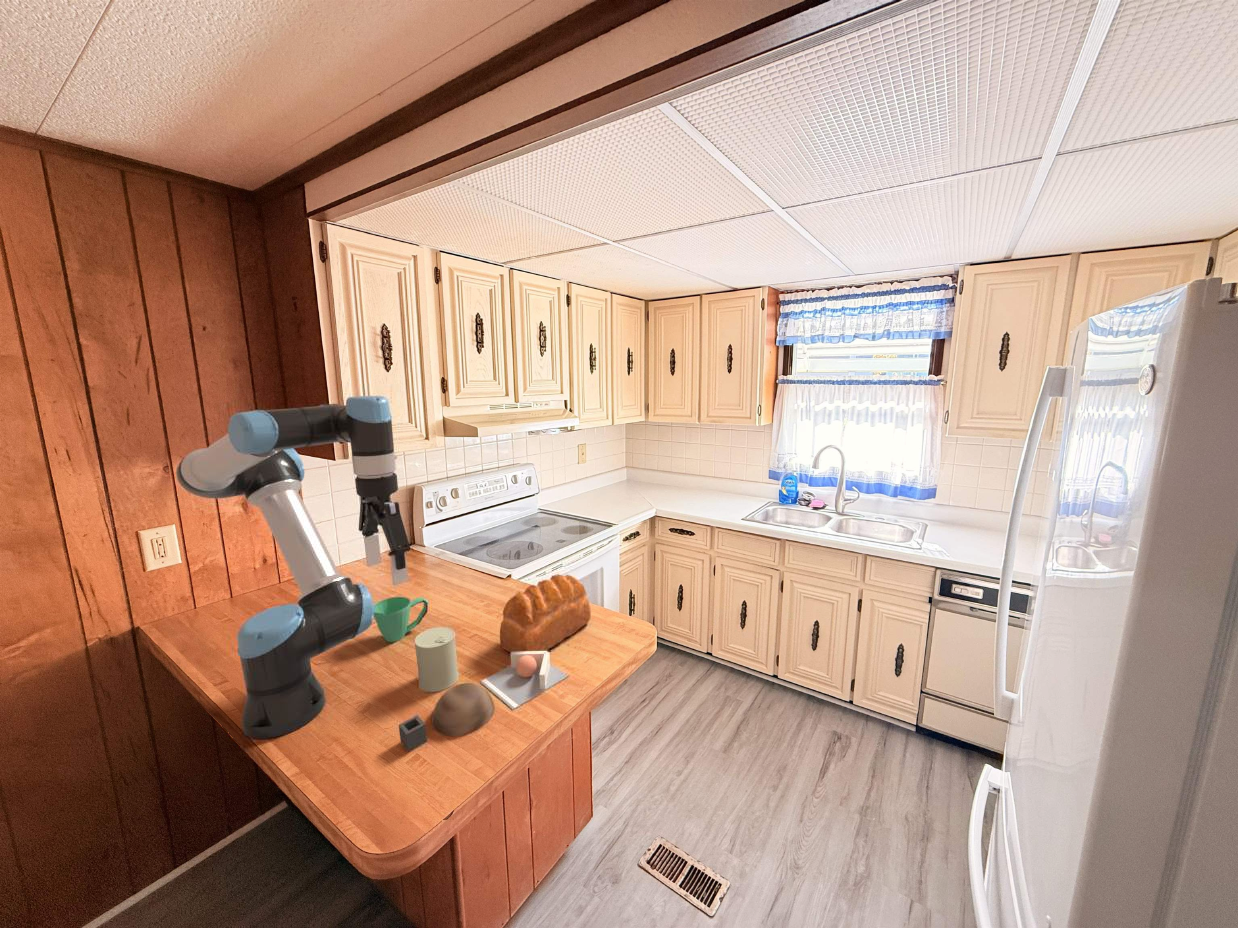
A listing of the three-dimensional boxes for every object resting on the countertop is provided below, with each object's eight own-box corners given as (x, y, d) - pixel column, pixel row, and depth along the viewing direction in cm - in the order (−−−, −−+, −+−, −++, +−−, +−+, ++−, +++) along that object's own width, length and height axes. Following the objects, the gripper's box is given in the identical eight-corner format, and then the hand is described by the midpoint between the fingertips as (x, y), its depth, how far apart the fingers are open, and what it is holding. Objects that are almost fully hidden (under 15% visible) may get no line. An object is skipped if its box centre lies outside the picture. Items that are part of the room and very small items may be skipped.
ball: (521, 678, 113) (523, 655, 115) (511, 676, 116) (512, 654, 118) (539, 677, 116) (541, 655, 118) (528, 675, 120) (530, 654, 121)
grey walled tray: (513, 709, 106) (512, 693, 105) (480, 682, 116) (478, 667, 115) (568, 676, 117) (568, 661, 116) (534, 653, 127) (533, 639, 126)
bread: (494, 647, 130) (490, 594, 127) (562, 608, 151) (560, 562, 148) (530, 664, 122) (526, 608, 119) (596, 621, 142) (595, 572, 139)
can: (435, 697, 111) (430, 650, 108) (410, 683, 115) (405, 638, 113) (467, 675, 118) (463, 631, 116) (442, 664, 123) (438, 621, 121)
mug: (381, 651, 129) (376, 617, 127) (371, 636, 136) (367, 603, 134) (435, 632, 138) (432, 600, 136) (424, 619, 145) (421, 588, 144)
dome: (453, 775, 98) (447, 719, 95) (424, 742, 106) (419, 690, 104) (507, 739, 107) (504, 688, 104) (477, 711, 116) (473, 663, 113)
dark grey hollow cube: (408, 751, 95) (406, 734, 94) (400, 741, 97) (398, 724, 97) (427, 741, 97) (425, 723, 97) (419, 731, 100) (417, 714, 99)
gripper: (422, 480, 90) (431, 585, 94) (371, 463, 107) (381, 552, 111) (380, 488, 85) (393, 598, 89) (334, 468, 102) (346, 562, 106)
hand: (386, 573), depth 100 cm, fingers open, 13 cm apart
